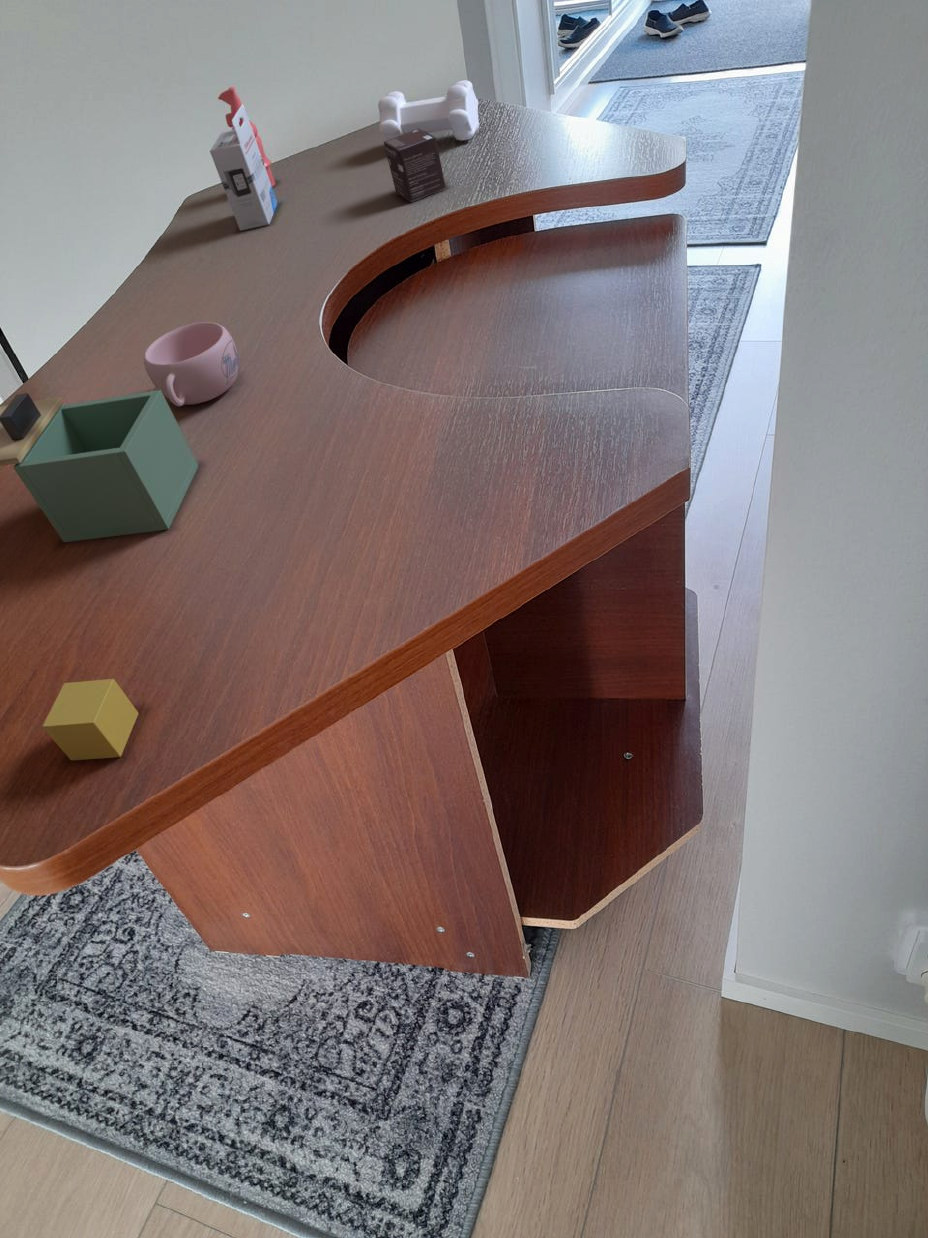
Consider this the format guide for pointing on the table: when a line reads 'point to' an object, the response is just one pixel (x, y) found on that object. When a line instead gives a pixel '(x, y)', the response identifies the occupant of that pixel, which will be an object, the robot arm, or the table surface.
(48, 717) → the block
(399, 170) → the box
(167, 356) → the mug
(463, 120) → the dog bone
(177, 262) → the table surface
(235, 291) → the table surface
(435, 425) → the table surface
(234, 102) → the figurine
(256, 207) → the ink box
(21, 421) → the slide door
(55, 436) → the case
